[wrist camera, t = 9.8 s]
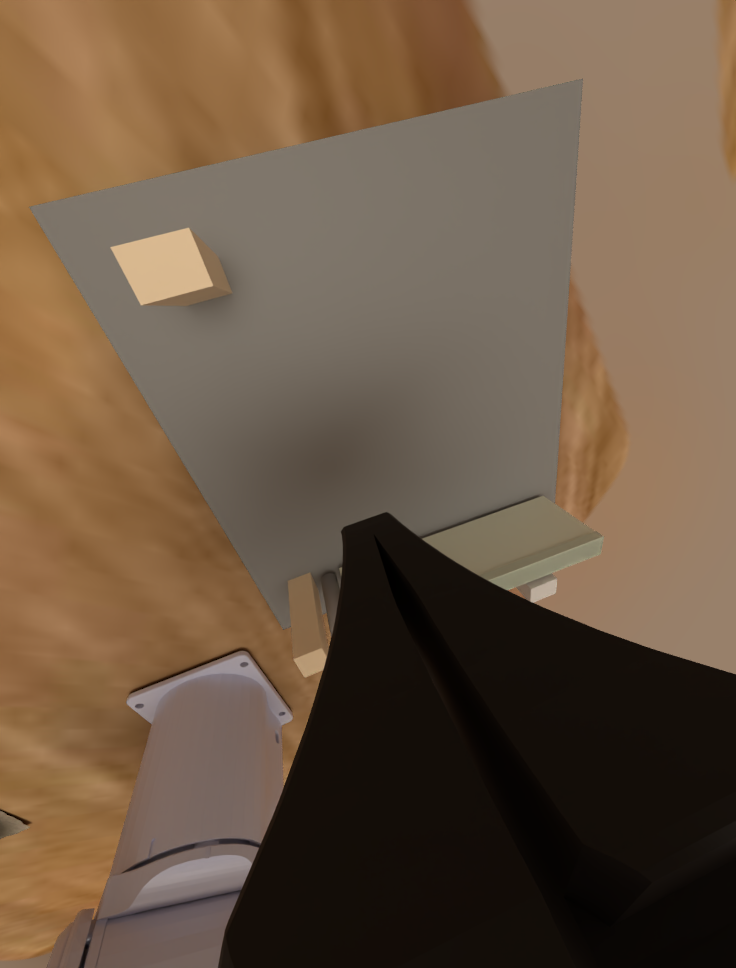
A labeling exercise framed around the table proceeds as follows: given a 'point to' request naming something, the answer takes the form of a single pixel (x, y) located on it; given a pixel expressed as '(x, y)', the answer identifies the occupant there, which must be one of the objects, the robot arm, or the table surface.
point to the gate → (506, 546)
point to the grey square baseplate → (348, 329)
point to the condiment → (10, 825)
